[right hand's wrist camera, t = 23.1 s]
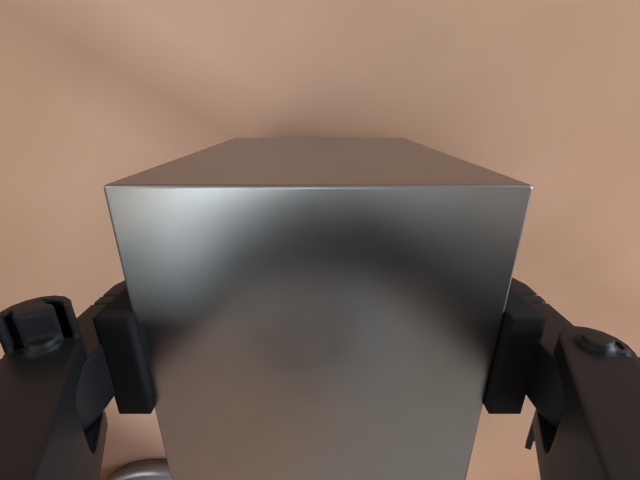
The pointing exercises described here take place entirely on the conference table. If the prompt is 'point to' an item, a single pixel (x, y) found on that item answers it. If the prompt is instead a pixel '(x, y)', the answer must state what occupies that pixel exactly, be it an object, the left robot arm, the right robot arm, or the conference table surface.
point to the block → (318, 304)
